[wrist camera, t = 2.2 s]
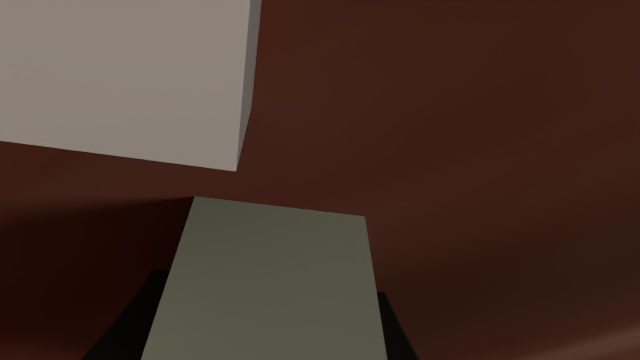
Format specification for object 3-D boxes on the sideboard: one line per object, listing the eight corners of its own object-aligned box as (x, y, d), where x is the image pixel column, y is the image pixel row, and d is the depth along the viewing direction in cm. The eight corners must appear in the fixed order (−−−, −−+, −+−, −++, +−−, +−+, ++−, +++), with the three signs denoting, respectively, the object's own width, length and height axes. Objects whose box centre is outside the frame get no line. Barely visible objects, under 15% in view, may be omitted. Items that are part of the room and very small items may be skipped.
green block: (334, 323, 15) (344, 495, 11) (192, 310, 15) (148, 486, 11) (364, 214, 13) (390, 385, 9) (195, 195, 12) (138, 365, 8)
